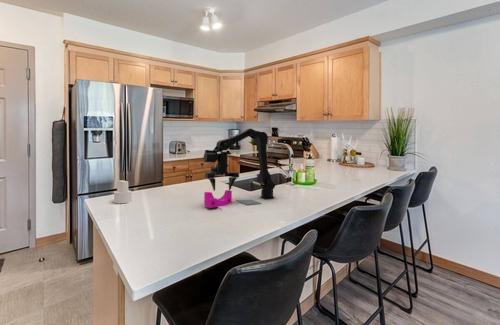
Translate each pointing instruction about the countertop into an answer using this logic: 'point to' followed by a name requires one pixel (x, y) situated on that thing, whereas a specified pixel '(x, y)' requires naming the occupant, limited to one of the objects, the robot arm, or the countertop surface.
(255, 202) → the mat
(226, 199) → the magenta arched bracket
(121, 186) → the cylinder with rectangular tab
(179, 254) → the countertop surface
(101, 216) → the countertop surface
